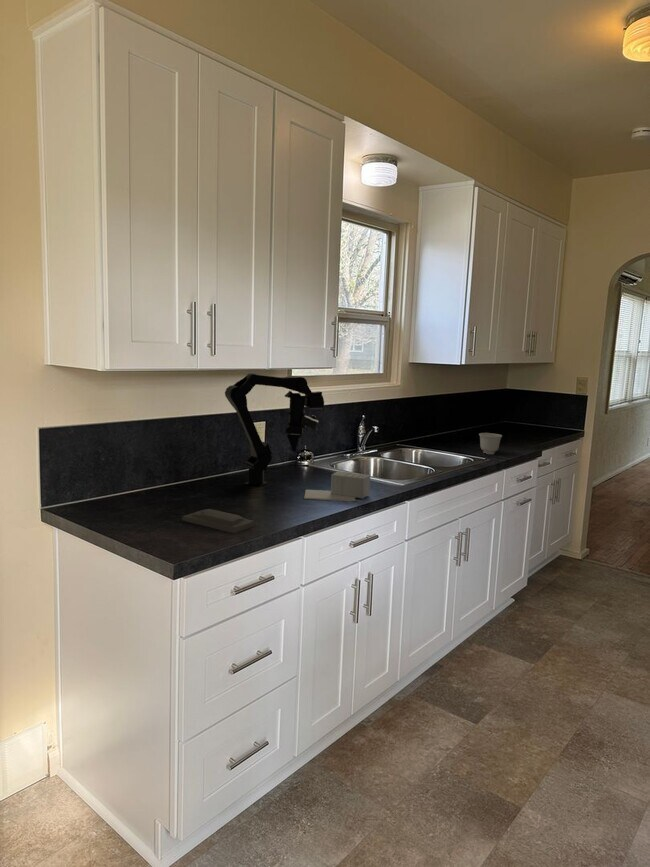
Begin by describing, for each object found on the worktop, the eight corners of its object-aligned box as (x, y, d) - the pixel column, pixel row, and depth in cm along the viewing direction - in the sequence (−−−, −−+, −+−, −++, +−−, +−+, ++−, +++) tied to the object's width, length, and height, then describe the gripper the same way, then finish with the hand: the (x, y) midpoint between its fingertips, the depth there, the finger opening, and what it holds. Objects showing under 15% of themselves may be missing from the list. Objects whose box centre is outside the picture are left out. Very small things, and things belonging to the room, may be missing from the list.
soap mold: (204, 515, 206) (205, 504, 205) (255, 527, 196) (256, 516, 195) (181, 522, 197) (182, 511, 196) (233, 535, 187) (234, 523, 186)
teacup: (494, 450, 351) (496, 432, 350) (503, 456, 337) (505, 436, 335) (472, 450, 351) (474, 431, 349) (481, 455, 336) (482, 435, 334)
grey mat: (304, 498, 230) (304, 497, 229) (305, 490, 241) (305, 489, 241) (355, 501, 229) (355, 500, 229) (354, 493, 241) (354, 492, 241)
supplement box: (337, 489, 243) (369, 494, 239) (330, 493, 237) (363, 499, 232) (338, 470, 242) (370, 474, 238) (331, 473, 235) (364, 478, 231)
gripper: (316, 413, 241) (314, 454, 244) (318, 407, 260) (317, 446, 262) (286, 411, 242) (284, 453, 244) (291, 406, 260) (289, 444, 262)
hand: (295, 449), depth 253 cm, fingers open, 9 cm apart
